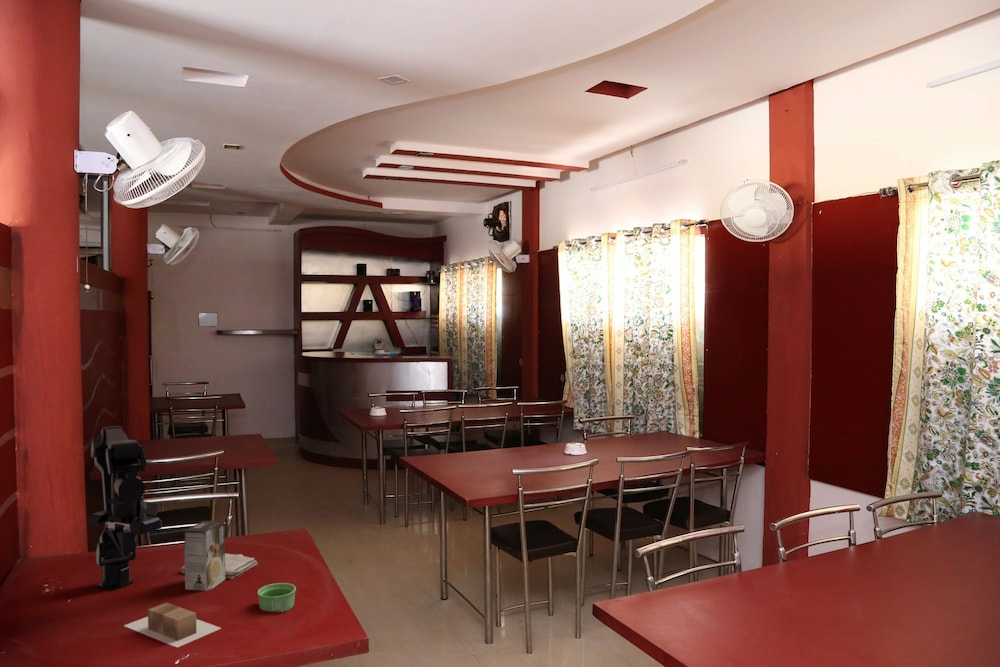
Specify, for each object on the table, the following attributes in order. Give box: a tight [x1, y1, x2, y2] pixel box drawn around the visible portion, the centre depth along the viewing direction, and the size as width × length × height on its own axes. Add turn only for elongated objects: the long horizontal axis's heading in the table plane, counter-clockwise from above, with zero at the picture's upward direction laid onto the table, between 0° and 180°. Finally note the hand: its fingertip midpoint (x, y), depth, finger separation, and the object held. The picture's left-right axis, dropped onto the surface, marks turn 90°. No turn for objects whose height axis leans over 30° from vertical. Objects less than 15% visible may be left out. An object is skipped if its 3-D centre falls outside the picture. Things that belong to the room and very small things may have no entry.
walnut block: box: [147, 602, 197, 641], centre depth 158 cm, size 4×4×11 cm
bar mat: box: [123, 616, 222, 648], centre depth 160 cm, size 20×11×1 cm, turn 58°
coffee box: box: [183, 520, 226, 592], centre depth 186 cm, size 9×6×16 cm
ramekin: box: [257, 582, 297, 614], centre depth 173 cm, size 9×9×4 cm
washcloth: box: [180, 552, 259, 580], centre depth 199 cm, size 12×18×3 cm, turn 75°
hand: (125, 556), depth 174 cm, fingers closed
